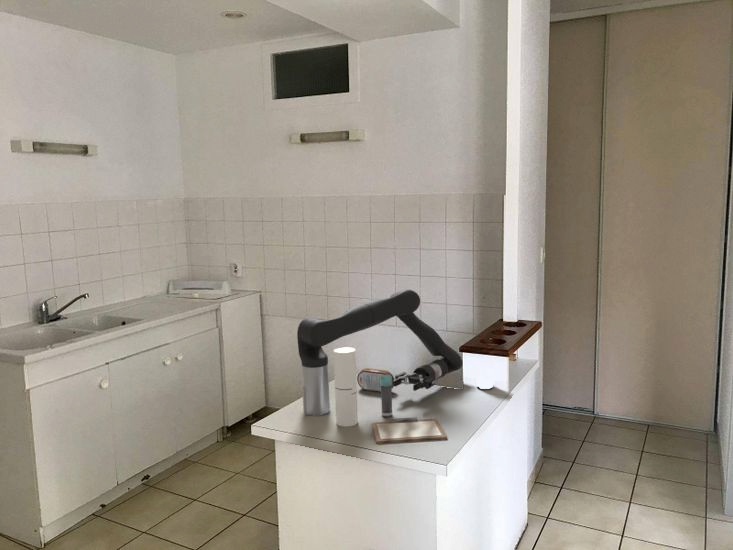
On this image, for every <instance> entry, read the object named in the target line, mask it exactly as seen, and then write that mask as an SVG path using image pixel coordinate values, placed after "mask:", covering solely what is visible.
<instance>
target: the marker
mask: <svg viewBox="0 0 733 550" xmlns="http://www.w3.org/2000/svg"><path fill="white" fill-rule="evenodd" d="M380 377H381V392H380V393H381V394H380V395H381V396H380V397H381V399H380V400H381V402H380V403H381V404H380V405H381V417H382V418H387V419H388V418H391V417H393V391H392V389H393V388H392V376H391V375H381V376H380Z"/></svg>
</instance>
